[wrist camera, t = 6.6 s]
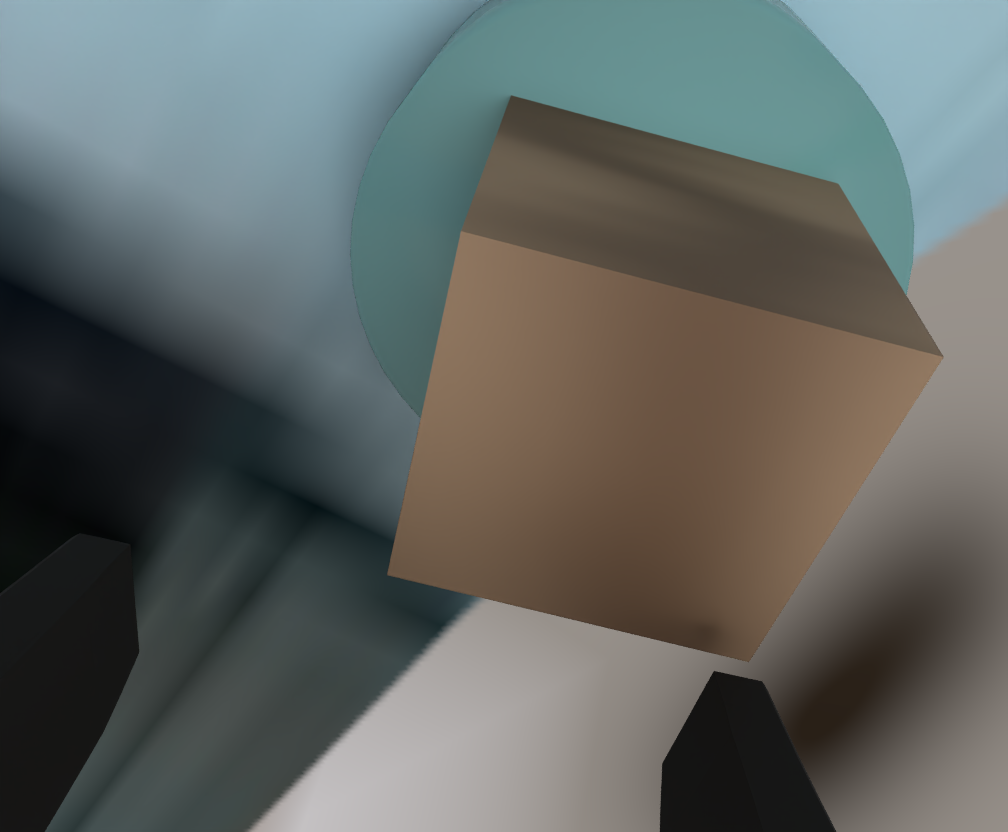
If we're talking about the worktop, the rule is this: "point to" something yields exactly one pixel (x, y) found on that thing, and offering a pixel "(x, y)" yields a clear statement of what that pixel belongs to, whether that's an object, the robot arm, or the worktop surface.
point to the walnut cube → (652, 384)
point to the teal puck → (614, 98)
